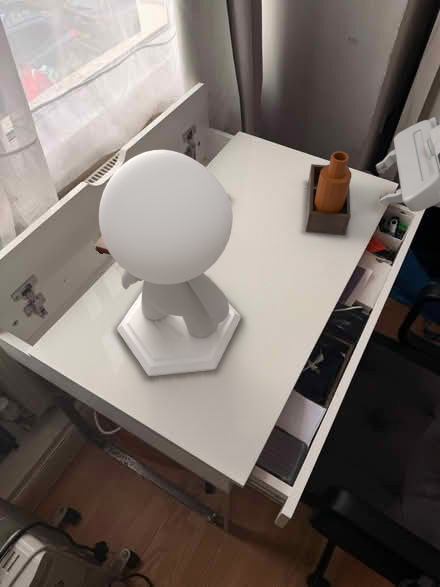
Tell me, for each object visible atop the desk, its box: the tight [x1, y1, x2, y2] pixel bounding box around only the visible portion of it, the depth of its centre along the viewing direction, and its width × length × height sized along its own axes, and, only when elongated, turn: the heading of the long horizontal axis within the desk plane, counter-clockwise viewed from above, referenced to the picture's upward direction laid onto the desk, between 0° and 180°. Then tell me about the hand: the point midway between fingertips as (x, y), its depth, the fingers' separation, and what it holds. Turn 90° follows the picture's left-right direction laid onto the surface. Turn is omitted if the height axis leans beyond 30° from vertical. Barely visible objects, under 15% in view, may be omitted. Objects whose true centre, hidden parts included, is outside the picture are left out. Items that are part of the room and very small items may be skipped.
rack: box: [305, 163, 351, 236], centre depth 96 cm, size 8×16×6 cm, turn 171°
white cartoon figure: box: [98, 149, 242, 377], centre depth 67 cm, size 20×23×35 cm
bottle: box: [313, 150, 353, 214], centre depth 89 cm, size 6×6×16 cm
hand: (379, 185), depth 86 cm, fingers open, 8 cm apart
